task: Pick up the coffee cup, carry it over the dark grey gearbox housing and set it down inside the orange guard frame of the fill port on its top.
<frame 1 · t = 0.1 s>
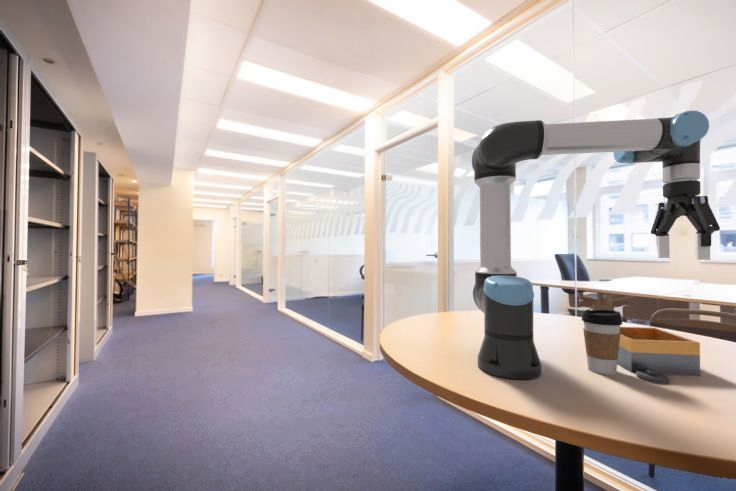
hand: (681, 258, 91), 28 cm above the table, fingers open, 13 cm apart
coffee cup: (601, 371, 83), on the table
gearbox: (644, 363, 88), on the table
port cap: (652, 380, 78), on the table
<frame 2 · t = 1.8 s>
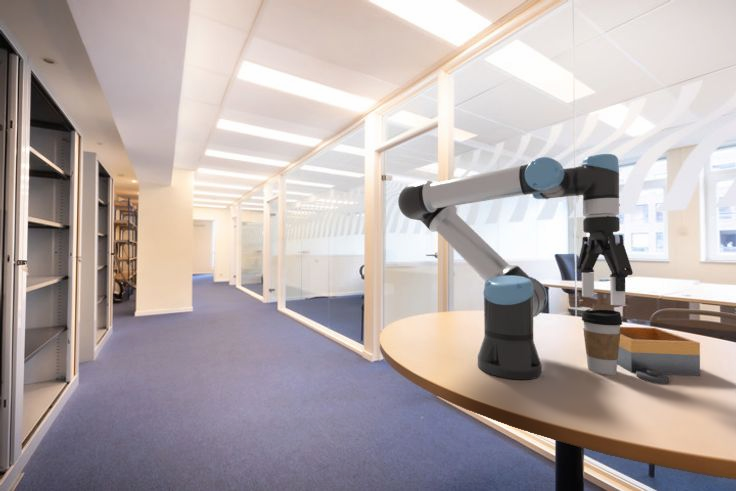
hand: (601, 300, 83), 18 cm above the table, fingers open, 13 cm apart
nothing on the table moved.
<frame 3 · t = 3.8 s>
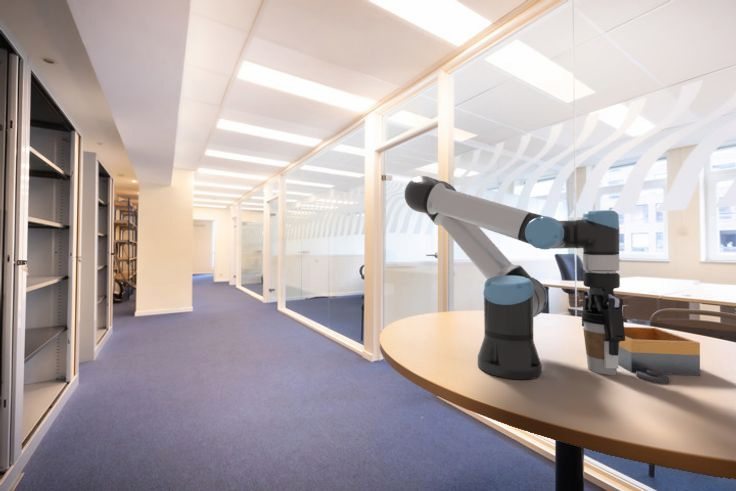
hand: (601, 361, 83), 2 cm above the table, fingers closed on coffee cup, 8 cm apart
coffee cup: (601, 371, 83), on the table, touching gripper
everything else where it was.
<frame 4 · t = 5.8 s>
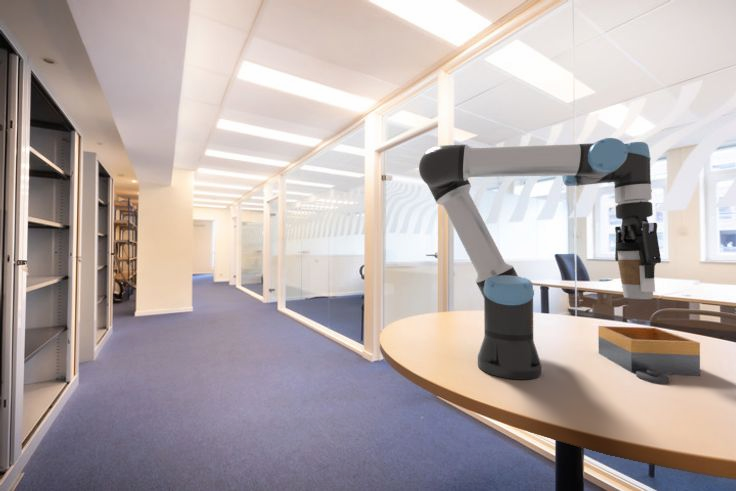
hand: (637, 289, 86), 20 cm above the table, fingers closed on coffee cup, 8 cm apart
coffee cup: (638, 298, 86), point 18 cm above the table, touching gripper
everything else where it was.
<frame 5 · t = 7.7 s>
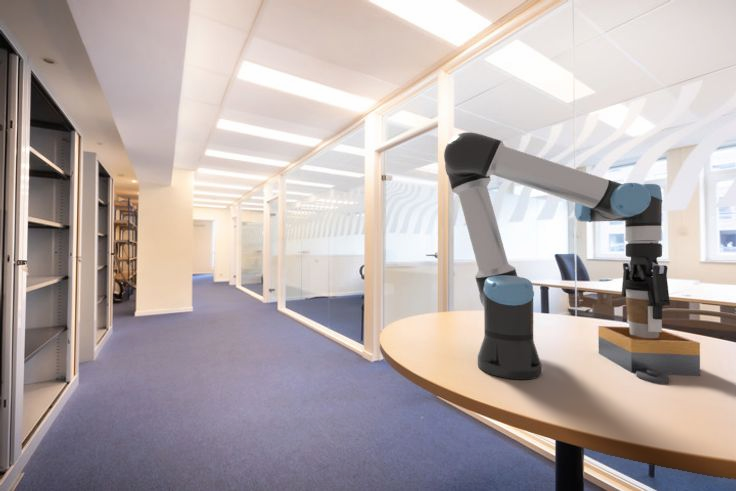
hand: (643, 327, 88), 10 cm above the table, fingers closed on coffee cup, 8 cm apart
coffee cup: (644, 336, 88), point 7 cm above the table, touching gripper
everything else where it was.
when the fingers open (10 cm above the table, at t = 8.3 s): coffee cup drops 2 cm, resting on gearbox.
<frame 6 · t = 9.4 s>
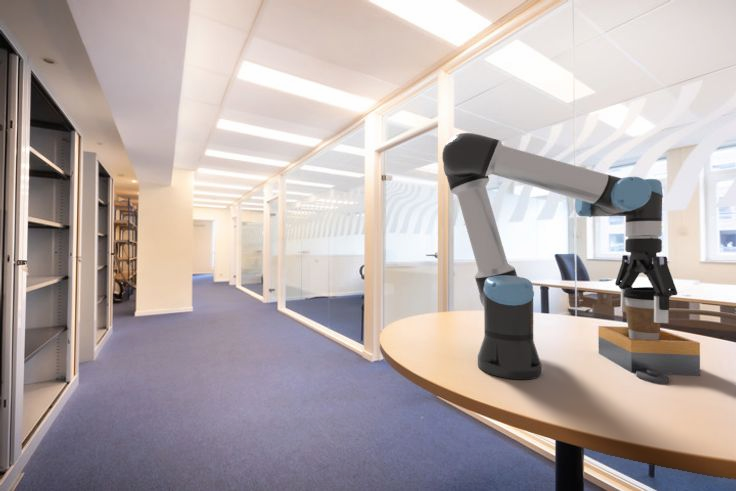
hand: (642, 317, 88), 12 cm above the table, fingers open, 13 cm apart
coffee cup: (643, 344, 88), point 5 cm above the table, touching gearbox
everything else where it was.
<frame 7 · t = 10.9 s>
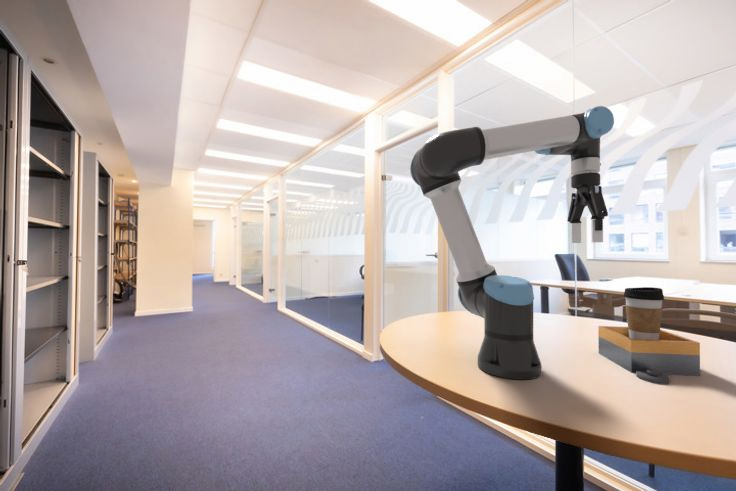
hand: (585, 242, 102), 33 cm above the table, fingers open, 13 cm apart
nothing on the table moved.
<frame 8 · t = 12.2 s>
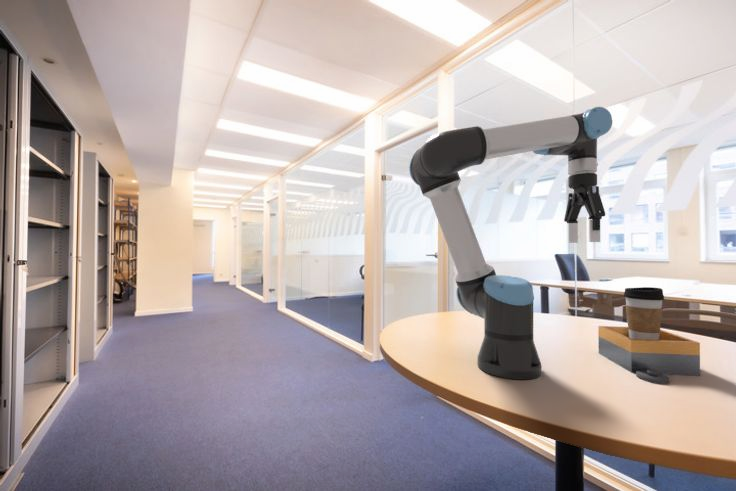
hand: (582, 242, 102), 33 cm above the table, fingers open, 13 cm apart
nothing on the table moved.
at the end: coffee cup inside the target area on the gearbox (0.2 cm from its centre), point 5.0 cm above the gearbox's base; coffee cup tilted 0°; the gripper is holding nothing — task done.
